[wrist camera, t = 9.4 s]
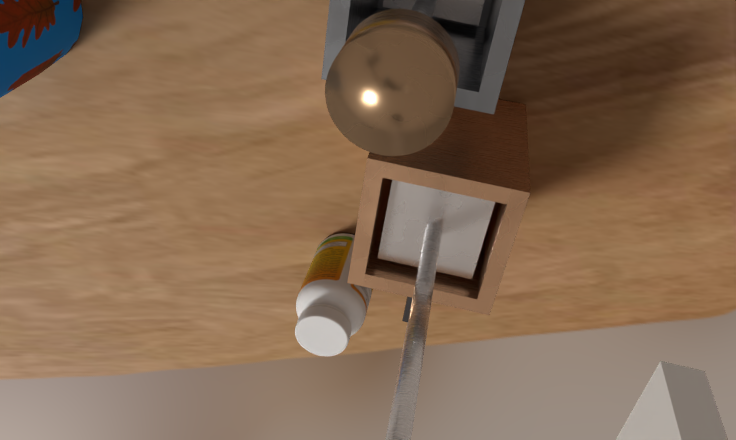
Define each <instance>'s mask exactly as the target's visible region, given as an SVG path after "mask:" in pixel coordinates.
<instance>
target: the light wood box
mask: <svg viewBox="0 0 736 440" xmlns="http://www.w3.org/2000/svg"><path fill="white" fill-rule="evenodd" d="M392 180H396V181H401V182H405V183H410V184H415V185H419V186H424V187H428V188H433V189H438V190H442V191H447V192H452V193H456V194H461V195H466V196H470V197H475V198H479V199H484V200H489V201H493V202H495V204H494V208H493V211H492V214H491V218H490V221H489V224H488V228H487V231H486V234H485V238H484V241H483V244H482V247H481V251H480V254H479V257H478V261H477V264H476V267H475V271H474V274H473V277H472V279H468V278H464V277H459V276H455V275H450V274H446V273H442V272H437V271H436V276H435V282H434V289H433V296H432V302H434V303H438V304H442V305H447V306H451V307H455V308H460V309H464V310H469V311H473V312H477V313H482V314H486V315H490V312H491V309H492V306H493V303H494V300H495V297H496V294H497V291H498V288H499V285H500V282H501V279H502V276H503V273H504V270H505V267H506V264H507V261H508V258H509V255H510V252H511V249H512V246H513V243H514V240H515V237H516V234H517V231H518V228H519V225H520V222H521V219H522V216H523V213H524V210H525V207H526V204H527V201H528V199H529V196H530V178H529V159H528V140H527V121H526V105H525V104H520V103H515V102H510V101H505V100H501V99H498V101H497V104H496V108H495V112H494V114H489V113H484V112H479V111H474V110H469V109H465V108H460V107H455V106H454V108H453V113H452V116H451V119H450V121H449V123H448V125H447V127H446V129H445V130H444V132H443V133H442V134H441V135H440V136H439V137H438V139H436V140H435V141H434V142H433V143H432V144H430V145H429V146H427V147H426V148H424V149H422V150H420V151H417V152H414V153H412V154H407V155H401V156H385V155H379V154H375V153H372V152H370V153H369V155H368V158H367V164H366V170H365V176H364V182H363V189H362V195H361V201H360V207H359V214H358V220H357V226H356V232H355V238H354V245H353V251H352V257H351V263H350V270H349V276H348V282H347V283H350V284H355V285H359V286H363V287H368V288H372V289H377V290H381V291H385V292H390V293H394V294H398V295H403V296H407V300H406V305H405V310H404V315H403V320H402V321H404V322H408V319H409V314H410V308H411V303H412V298H413V292H414V287H415V282H416V277H417V271H418V267H415V266H410V265H406V264H402V263H397V262H393V261H388V260H384V259H379V258H378V253H379V247H380V242H381V237H382V232H383V226H384V221H385V216H386V210H387V205H388V200H389V195H390V189H391V184H392Z"/></svg>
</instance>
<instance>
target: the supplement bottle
mask: <svg viewBox="0 0 736 440" xmlns="http://www.w3.org/2000/svg"><path fill="white" fill-rule="evenodd" d="M354 238H355V235H352V234H346V233H342V234H335V235H332V236H329V237H327V238H326V239H325V240H324V241H322V243H321V244H320V245H319V247H318V249H317V251H316V253H315V256H314V258H313V261H312V263H311V265H310V268H309V270H308V273H307V275H306V277H305V280H304V282H303V285H302V287H301V290H300V292H299V295H298V298H297V301H296V311H297V315H298V317H299V319H298V322H297V324H296V328H295V335H296V339H297V341H298V342H299V344H300V345H301V346H302V347H303V348H305V349H306V350H307V351H309V352H311V353H313V354H316V355H320V356H334V355H337V354H339V353H341V352H342V351H343V350H344V349H345V348H346V347H347V345H348V342H349V339H350V336H351V335H353V334H355V333H356V332H357V331H358V330H359V329H360V328H361V326H362V324H363V322H364V319H365V316H366V312H367V308H368V305H369V301H370V297H371V293H372V290H373V289H372V288H368V287H363V286H359V285H355V284H350V283H347V282H348V276H349V270H350V263H351V257H352V251H353V245H354Z"/></svg>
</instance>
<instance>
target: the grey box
mask: <svg viewBox="0 0 736 440" xmlns="http://www.w3.org/2000/svg"><path fill="white" fill-rule="evenodd" d="M383 1H384V0H330V4H329V14H328V23H327V33H326V42H325V51H324V61H323V70H322V79H324V80H326V79H327V75H328V72H329V69H330V67H331V65H332V63H333V61H334V60H335V58H336V57H337V55H338V53H339V52H340V50H341V49H342V47H343V46H344V44H345V43H346V41H347V39H348V38H349V36H350V35H351V33H352V32H353V31H354V29H355V28H356V27H357V26H358V25H359V24H360V23H361V22H362V21H364V20H365V19H366V18H368V17H369V16H371V15H373V14H375V13H378V12H381V11H384V10H389V9H391V8H386V7H383ZM524 3H525V0H485V1H484V5H483V9H482V13H481V17H480V22H479V26H477V25H472V24H467V23H462V22H457V21H452V20H447V19H442V18H437V17H432V19H434V20H435V21H436V22H438V23H439V24H440V25H441V26H442V27H443V28H444V29H445V30H446V31H447V33H448V34H449V35H450V37H451V38H452V40H453V42H454V44H455V47H456V49H457V52H458V56H459V63H460V73H459V80H458V85H457V91H456V97H455V103H454V106H455V107H460V108H465V109H469V110H474V111H479V112H484V113H489V114H494V112H495V108H496V104H497V101H498V97H499V94H500V90H501V86H502V83H503V79H504V75H505V72H506V68H507V64H508V61H509V57H510V54H511V50H512V46H513V43H514V39H515V35H516V32H517V28H518V24H519V21H520V17H521V14H522V10H523V6H524Z"/></svg>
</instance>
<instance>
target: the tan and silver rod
mask: <svg viewBox="0 0 736 440" xmlns="http://www.w3.org/2000/svg"><path fill="white" fill-rule="evenodd" d="M484 1H485V0H384V1H383V7H386V8H391V9H389V10H384V11H381V12H378V13H375V14H373V15H371V16H369V17H368V18H366V19H365V20H364V21H362V22H361V23H360V24H359V25H358V26H357V27H356V28H355V29H354V31H353V32H352V33H351V35H350V36H349V38H348V39H347V41H346V43H345V44H344V46H343V47H342V49H341V50H340V52H339V53H338V55H337V57H336V58H335V60H334V61H333V63H332V65H331V67H330V69H329V72H328V75H327V79H326V84H325V97H326V103H327V108H328V110H329V113H330V116H331V118H332V120H333V122H334V123H335V125H336V126H337V128H338V129H339V130H340V131H341V133H342V134H343V135H344V136H345V137H346V138H347V139H349V140H350V141H351V142H352V143H354V144H355V145H357V146H359V147H360V148H362V149H364V150H367V151H369V152H372V153H375V154H379V155H385V156H401V155H407V154H412V153H414V152H417V151H420V150H422V149H424V148H426V147H427V146H429V145H430V144H432V143H433V142H434V141H435V140H436V139H438V137H439V136H440V135H441V134H442V133H443V132H444V130H445V129H446V127H447V125H448V123H449V121H450V119H451V116H452V113H453V108H454V103H455V97H456V91H457V85H458V80H459V73H460V63H459V56H458V52H457V49H456V47H455V44H454V42H453V40H452V38H451V37H450V35H449V34H448V33H447V31H446V30H445V29H444V28H443V27H442V26H441V25H440V24H439V23H438V22H436V21H435V20H434V19H432V17H437V18H442V19H447V20H452V21H457V22H462V23H467V24H472V25H477V26H479V22H480V17H481V13H482V9H483V5H484Z"/></svg>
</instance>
